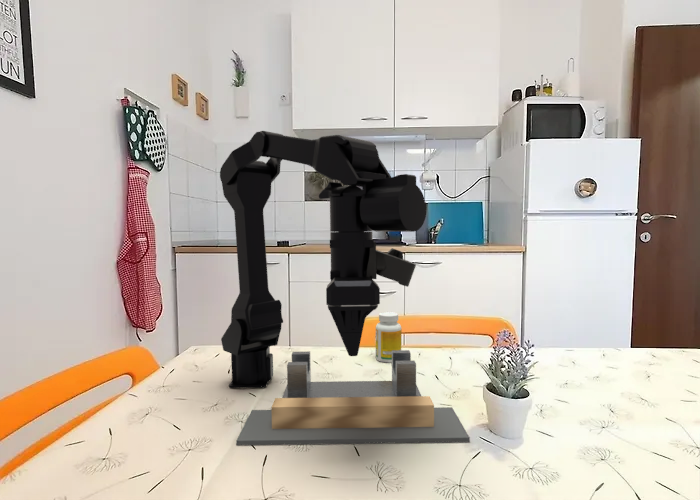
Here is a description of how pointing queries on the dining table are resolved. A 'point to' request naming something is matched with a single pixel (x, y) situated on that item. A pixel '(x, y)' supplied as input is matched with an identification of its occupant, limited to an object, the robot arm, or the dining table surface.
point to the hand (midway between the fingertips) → (352, 345)
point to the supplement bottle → (387, 336)
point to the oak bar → (352, 412)
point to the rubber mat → (352, 432)
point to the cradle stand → (398, 387)
